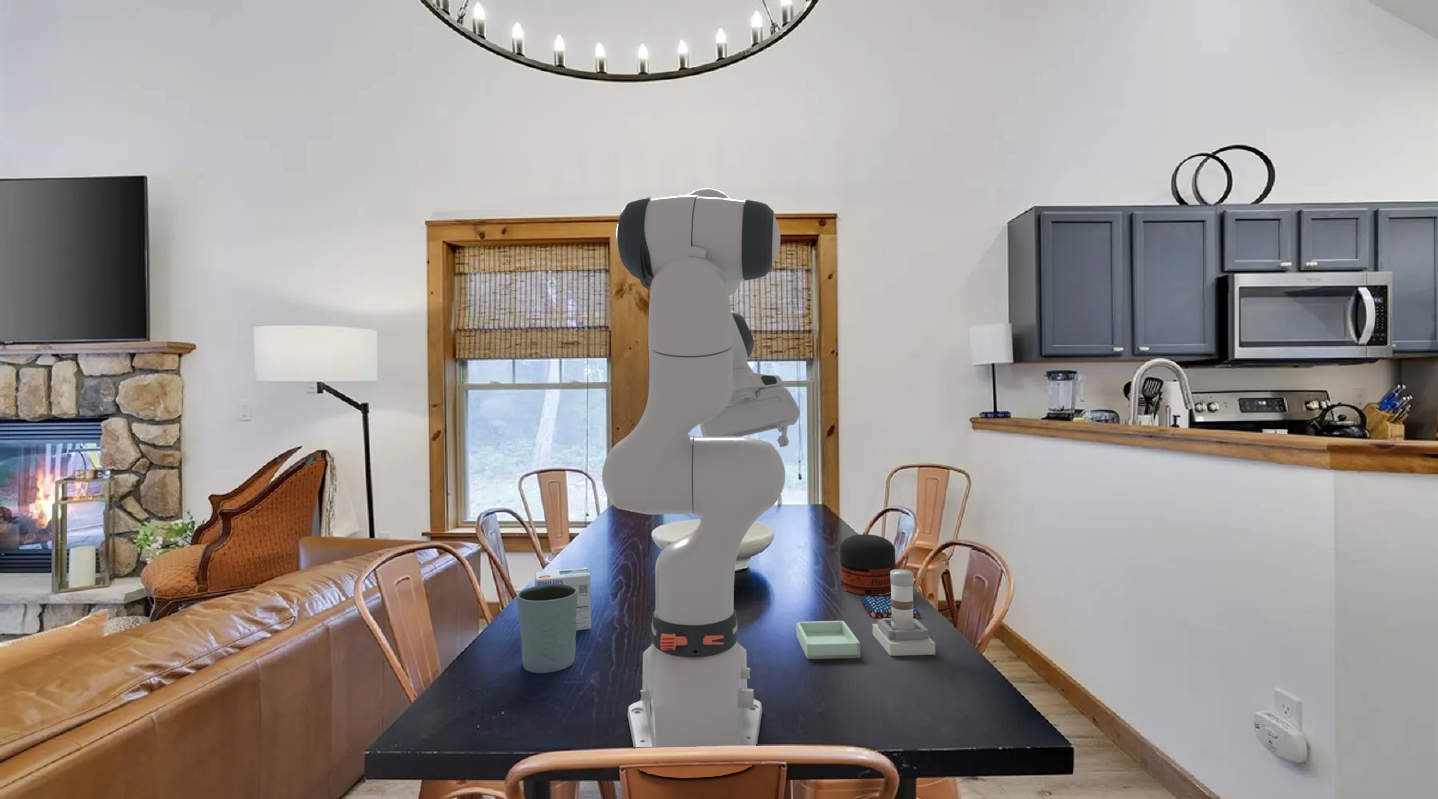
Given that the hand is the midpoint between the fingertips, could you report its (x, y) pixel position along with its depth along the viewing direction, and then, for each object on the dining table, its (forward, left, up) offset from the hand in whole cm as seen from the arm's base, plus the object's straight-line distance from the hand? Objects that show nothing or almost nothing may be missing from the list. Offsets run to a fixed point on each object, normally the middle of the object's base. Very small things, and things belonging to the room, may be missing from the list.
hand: (762, 450), depth 116 cm
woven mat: (+12, -28, -36) cm, 47 cm away
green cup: (-11, +39, -35) cm, 53 cm away
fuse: (-7, -24, -33) cm, 42 cm away
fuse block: (-7, -24, -35) cm, 43 cm away
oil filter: (+28, -28, -35) cm, 53 cm away
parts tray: (-7, -10, -35) cm, 37 cm away
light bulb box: (+6, +40, -35) cm, 53 cm away
